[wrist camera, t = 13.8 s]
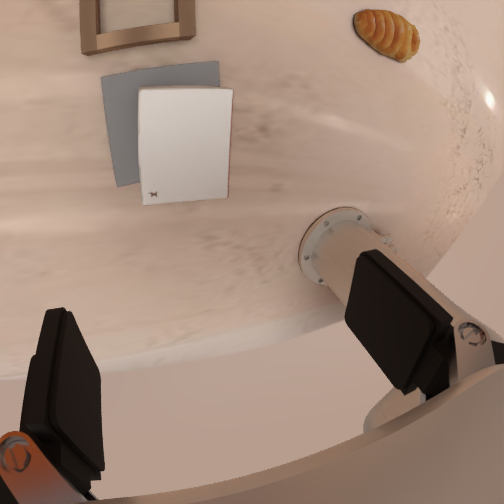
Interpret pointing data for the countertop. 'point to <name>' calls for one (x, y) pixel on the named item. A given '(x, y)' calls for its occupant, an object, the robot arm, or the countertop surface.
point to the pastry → (388, 33)
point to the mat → (126, 108)
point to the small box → (184, 142)
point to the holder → (133, 29)
